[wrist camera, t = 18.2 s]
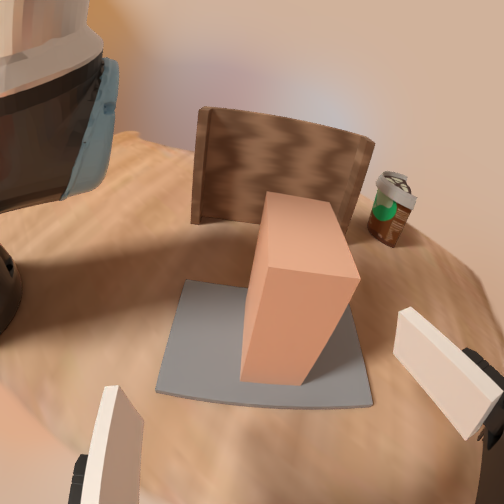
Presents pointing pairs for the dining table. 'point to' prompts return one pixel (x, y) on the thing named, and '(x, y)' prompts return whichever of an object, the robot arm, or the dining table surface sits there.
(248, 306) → the carton
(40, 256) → the dining table surface
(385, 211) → the food container
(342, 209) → the brown wooden board
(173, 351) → the slate mat
